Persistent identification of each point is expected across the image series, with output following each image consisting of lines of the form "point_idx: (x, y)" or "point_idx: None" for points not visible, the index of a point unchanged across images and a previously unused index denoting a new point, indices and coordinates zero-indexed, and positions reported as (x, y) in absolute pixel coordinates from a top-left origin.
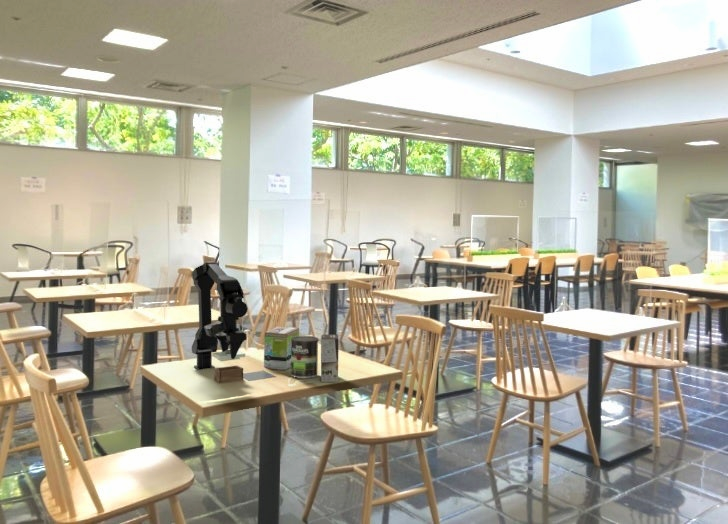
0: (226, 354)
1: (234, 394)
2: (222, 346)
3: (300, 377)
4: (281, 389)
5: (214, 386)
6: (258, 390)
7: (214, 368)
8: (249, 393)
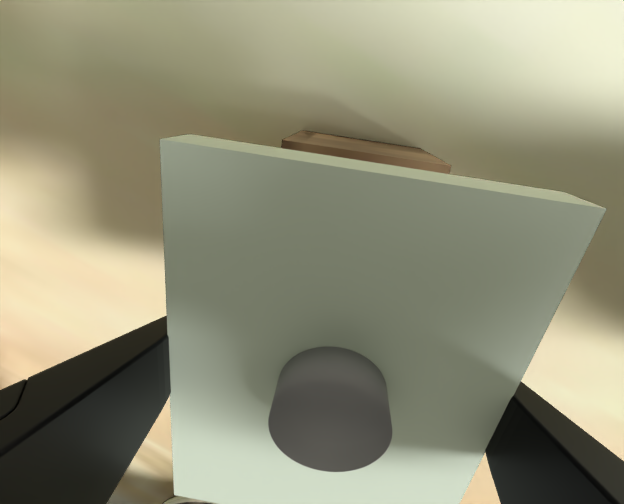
0: (270, 325)
1: (25, 90)
2: (581, 488)
3: (170, 501)
4: (30, 349)
5: (302, 82)
6: (57, 258)
7: (439, 167)
8: (14, 183)
